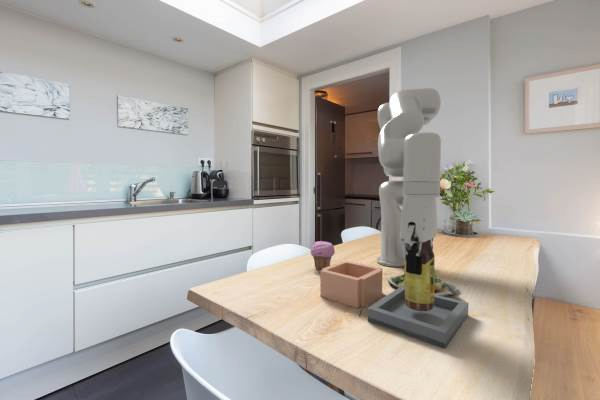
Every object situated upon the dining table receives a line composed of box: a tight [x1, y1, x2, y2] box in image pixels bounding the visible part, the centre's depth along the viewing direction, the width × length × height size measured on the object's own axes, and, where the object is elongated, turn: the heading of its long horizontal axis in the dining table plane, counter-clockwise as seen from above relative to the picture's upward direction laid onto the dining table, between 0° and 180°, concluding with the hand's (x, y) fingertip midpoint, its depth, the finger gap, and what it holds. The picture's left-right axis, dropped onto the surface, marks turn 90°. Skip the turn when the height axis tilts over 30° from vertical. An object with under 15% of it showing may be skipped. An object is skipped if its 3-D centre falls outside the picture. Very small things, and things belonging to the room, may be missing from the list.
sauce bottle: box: [404, 239, 436, 311], centre depth 64 cm, size 7×6×20 cm
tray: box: [367, 286, 469, 349], centre depth 65 cm, size 18×16×3 cm
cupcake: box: [310, 240, 336, 271], centre depth 103 cm, size 9×9×10 cm
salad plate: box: [387, 270, 460, 297], centre depth 84 cm, size 19×18×5 cm
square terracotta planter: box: [319, 260, 383, 309], centre depth 79 cm, size 13×13×7 cm
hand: (419, 269), depth 65 cm, fingers closed on sauce bottle, 6 cm apart
